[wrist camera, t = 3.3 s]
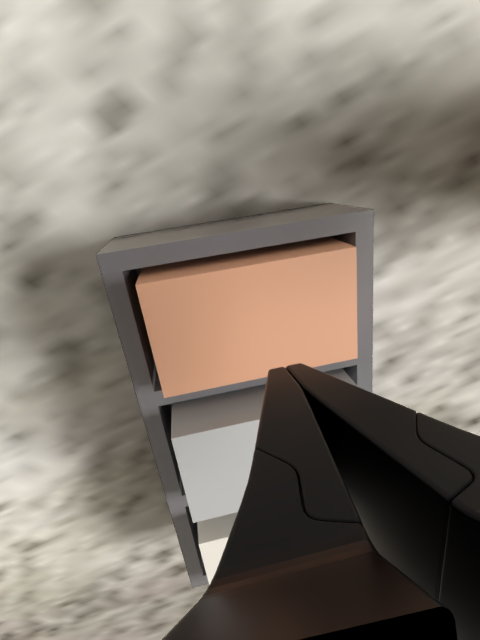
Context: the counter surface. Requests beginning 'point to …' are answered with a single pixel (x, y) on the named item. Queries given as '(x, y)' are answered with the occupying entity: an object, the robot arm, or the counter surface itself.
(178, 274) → the terracotta key
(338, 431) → the robot arm
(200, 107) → the counter surface
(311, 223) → the key panel
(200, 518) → the grey key
